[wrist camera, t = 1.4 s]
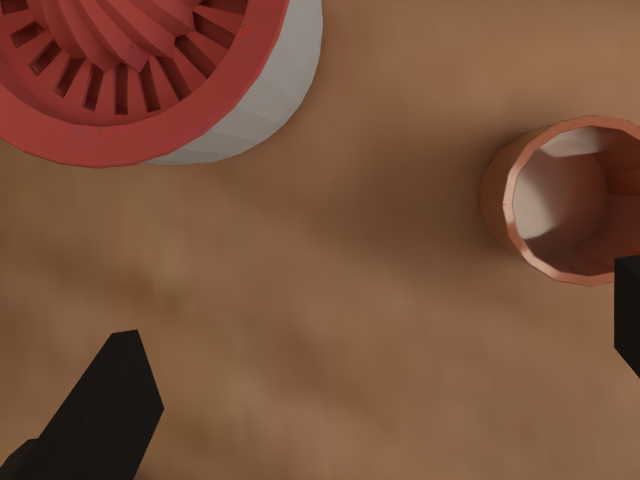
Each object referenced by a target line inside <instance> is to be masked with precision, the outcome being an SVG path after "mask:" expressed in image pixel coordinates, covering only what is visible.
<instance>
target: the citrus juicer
mask: <svg viewBox="0 0 640 480" xmlns="http://www.w3.org/2000/svg"><path fill="white" fill-rule="evenodd" d="M322 30H323V17H322V5H321V0H0V138H1V139H3V140H5V141H6V142H8V143H10V144H11V145H13V146H15V147H17V148H18V149H20V150H22V151H23V152H25V153H28V154H31V155H34V156H37V157H40V158H43V159H46V160H49V161H52V162H55V163H58V164H62V165H70V166H79V167H87V168H96V169H98V168H108V167H119V166H130V165H136V164H139V163H142V164H161V165H186V164H197V163H208V162H216V161H219V160H223V159H226V158H229V157H232V156H236V155H239V154H241V153H243V152H245V151H246V150H248V149H250V148H252V147H254V146H256V145H257V144H259V143H261V142H263V141H265V140H266V139H268V138H269V137H270V136H271V135H272V134H274V133H275V132H276V131H277V130H278V129H280V128H281V127H282V126H283V125H284V124H285V123H286V122H287V121H288V120H289V118H290V117H291V116H292V115H293V113H294V112H295V111H296V110H297V108H298V107H299V106H300V105H301V103H302V101H303V99H304V97H305V95H306V93H307V91H308V89H309V87H310V86H311V84H312V81H313V78H314V74H315V71H316V68H317V64H318V61H319V57H320V49H321V39H322Z"/></svg>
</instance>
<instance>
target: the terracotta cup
mask: <svg viewBox="0 0 640 480" xmlns="http://www.w3.org/2000/svg"><path fill="white" fill-rule="evenodd" d="M479 203H480V210H481V213H482V217H483V220H484V223H485V225H486V226H487V228H488V229H489V231H490V233H491V234H492V235H493V236H494V238H495V239H496V240H497V241H498V243H499V244H500V245H502V246H503V247H505V248H506V249H507V250H509V251H510V252H512V253H513V254H515V255H516V256H517V257H519V258H520V259H522V260H523V261H525V262H526V263H527V264H529V265H531V266H532V267H534V268H536V269H537V270H539V271H540V272H542V273H544V274H545V275H547V276H548V277H550V278H552V279H553V280H556V281H559V282H565V283H571V284H577V285H582V286H590V287H591V286H596V285H601V284H606V283H611V282H614V258H619V257H626V256H632V255H639V254H640V127H638V126H636V125H635V124H633V123H631V122H630V121H628V120H625V119H619V118H611V117H604V116H597V115H587V116H583V117H579V118H575V119H571V120H567V121H563V122H559V123H555V124H553V125H550V126H547V127H544V128H541V129H538V130H535V131H532V132H530V133H527V134H524V135H521V136H519V137H518V138H516V139H515V140H513V141H512V142H510V143H508V144H507V145H506V146H505V147H503V148H502V149H501V150H499V152H498V153H497V154H496V155H495V156H494V158H493V159H492V160H491V162H490V163H489V165H488V167H487V168H486V170H485V173H484V175H483V178H482V181H481V185H480V192H479Z"/></svg>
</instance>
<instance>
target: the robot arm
mask: <svg viewBox="0 0 640 480" xmlns="http://www.w3.org/2000/svg"><path fill="white" fill-rule="evenodd" d="M614 348H615V349H616V350H617V351H618V353H619V354H620V355H621V356H622V358H623V359H624V360H625V361H626V362H627V364H628V365H629V366H630V367H631V368H632V370H633V371H634V372H635V373H636V375H637V376H638V377H639V378H640V254H639V255H632V256H626V257H619V258H614ZM163 411H164V406H163V403H162V400H161V397H160V395H159V392H158V389H157V386H156V383H155V380H154V377H153V374H152V371H151V368H150V365H149V362H148V359H147V356H146V353H145V350H144V347H143V344H142V341H141V338H140V335H139V332H138V330H131V331H124V332H117V333H112V334H111V335H110V337H109V338H108V340H107V341H106V342H105V344H104V345H103V347H102V348H101V350H100V351H99V352H98V354H97V355H96V357H95V358H94V360H93V361H92V362H91V364H90V365H89V367H88V368H87V369H86V371H85V372H84V374H83V375H82V377H81V378H80V379H79V381H78V382H77V384H76V385H75V387H74V388H73V389H72V391H71V392H70V394H69V395H68V397H67V398H66V399H65V401H64V402H63V404H62V405H61V406H60V408H59V409H58V411H57V412H56V414H55V415H54V416H53V418H52V419H51V421H50V422H49V424H48V425H47V426H46V428H45V429H44V431H43V432H42V433H41V435H40V436H39V438H37V439H29V440H27V441H26V442H25V443H24V444H23V445H21V446H20V447H19V448H18V449H17V450H15V451H14V452H13V453H12V454H11V455H10V456H9V457H8V458H7V459H6V461H5V462H4V463H3V465H2V466H1V467H0V480H133V479H134V477H135V475H136V472H137V470H138V468H139V465H140V463H141V461H142V459H143V456H144V454H145V452H146V449H147V447H148V445H149V443H150V440H151V438H152V436H153V433H154V431H155V429H156V427H157V424H158V422H159V420H160V417H161V415H162V413H163Z"/></svg>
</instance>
